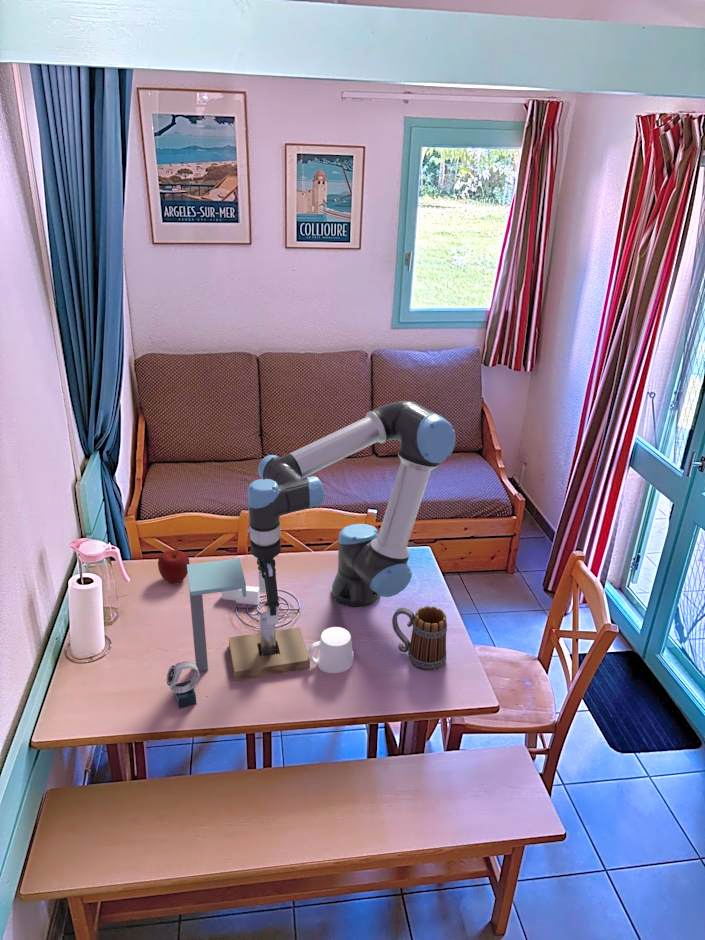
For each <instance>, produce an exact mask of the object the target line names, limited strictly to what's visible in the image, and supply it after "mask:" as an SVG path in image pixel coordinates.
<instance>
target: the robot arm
mask: <svg viewBox="0 0 705 940" xmlns="http://www.w3.org/2000/svg"><path fill="white" fill-rule="evenodd" d="M456 437H457V436H456V431H455V428H454V426H453V424H451V422H450V421H449V420H447V419H445V417H443V416H442V415H440V414H438V413H436V412H434V411H432V410H430V409H428V408H427V407H425V406H422V404H420V403H417V402H415V401H411V400H400V401H395V402H390V403H387V404H384V405H381V406H378V407H376V408H374V409H371V410H369V411H367V412H366V415H365V417H364V418H361V419H359V420H356V421H355V422H352V423H351V424H349V425H347V426H344V427H342V428H341V429H337V431H334V432H332V433H330V434H328V435H326V436H323V437H321V438H320V439H317V440H315V441H313V442H311V443H309V444H307V445H304V446H303V447H300V448H298V449H296V450H294V451H292V452H290V453H288V454H286V455H283V456H282V457H280V456H278V455H275V454H269V455H267V456H264V458H262V459H261V460H260V462H259V463H258V466H257V472H258V476H259V478H261V479H256V480H253V481H252V482H250V484H249V485H248V487H247V499H246V502H247V509H248V520H249V523H248V524H249V528H248V529H247V531H246V532H247V533H249V538H250V540H249V541H250V542H249V543H250V552H251V554H252V556H253V557H255V558H256V564H257V565H258V566H257V569H258V583H259V584H258V585H259V586H258V587H259V589H260V594H264V593H265V594H266V602H265V603H264V607H266V611H267V623H268V625H269V624H275V625H276V624H279V607H280V602H279V595H278V586H277V584H278V583H277V571H276V569H277V568H276V560H275V559H274V558H275V557H277V556H279V554H280V553H281V551H282V549H281V548H282V546H281V545H282V544H281V543H282V542H281V517H283V516H285V515H288V514H292V513H296V512H299V511H305V510H308V509H311V508H312V507H316V506H319V505H321V504H323V502H324V499H325V488H324V484H323V483H322V481H321V480H320V478H319V477H317V476H316V475H315V476H310V475H312V474H314V473H316V472H318V471H320V470H323V469H324V468H326V467H329V466H331V465H333V464H335V463H336V462H339V461H341V460H342V459H345V458H347V457H349V456H351V455H353V454H356V453H358V452H359V451H361V450H363V449H366V448H367V447H369V446H373V444H376V443H379V444H384V443H386V442H389V441H393V440H394V441H397V442H399V443H400V445H399V449H398V451H397V455H398V458H399V460H400V464H399V467H398V470H397V474H396V477H395V481H394V483H393V486H392V490H391V493H390V496H389V500H388V503H387V505H386V506H387V507H386V510H385V512H384V516H383V519H382V523H381V526H380V529H379V532H378V529H377V528H376V527H375V526H373V525H370V524H366V523H354V524H349V525H346V526H344V527H343V528H342V529H341V530H340V531H339V534H338V540H337V543H338V547H337V548H338V551H337V552H338V553H337V554H338V556H337V558H338V559H337V560H338V561H337V572H336V575H335V578H334V580H333V582H332V584H331V596H332V598H333V599H334V600H335V601H336V602H337V603H338V604H341V605H342V606H345V607H349V608H359V609H360V608H365V607H369V606H372V605H374V604H375V603H377V602H378V600H379V599H380V597H383V598H391V597H395V596H397V595H398V594H400V593H401V592H402V591H404V590H405V589H406V588H407V586H409V584H410V582H411V579H412V575H413V573H412V570H411V568H410V566H409V565H408V561H409V558H410V555H411V553H410V550H409V548H408V545H409V541H410V538H411V534H412V531H413V528H414V525H415V522H416V519H417V515H418V513H419V510H420V506H421V504H422V500H423V497H424V494H425V490H426V487H427V483H428V481H429V478H430V477H431V476H430V475H431V472H432V471H433V470H435V469H437V468H438V467H439V465H440V463H442V462H444V461H445V460H447V459H448V457H450V456H451V454H452V453H453V451H454V449H455V446H456Z"/></svg>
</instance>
